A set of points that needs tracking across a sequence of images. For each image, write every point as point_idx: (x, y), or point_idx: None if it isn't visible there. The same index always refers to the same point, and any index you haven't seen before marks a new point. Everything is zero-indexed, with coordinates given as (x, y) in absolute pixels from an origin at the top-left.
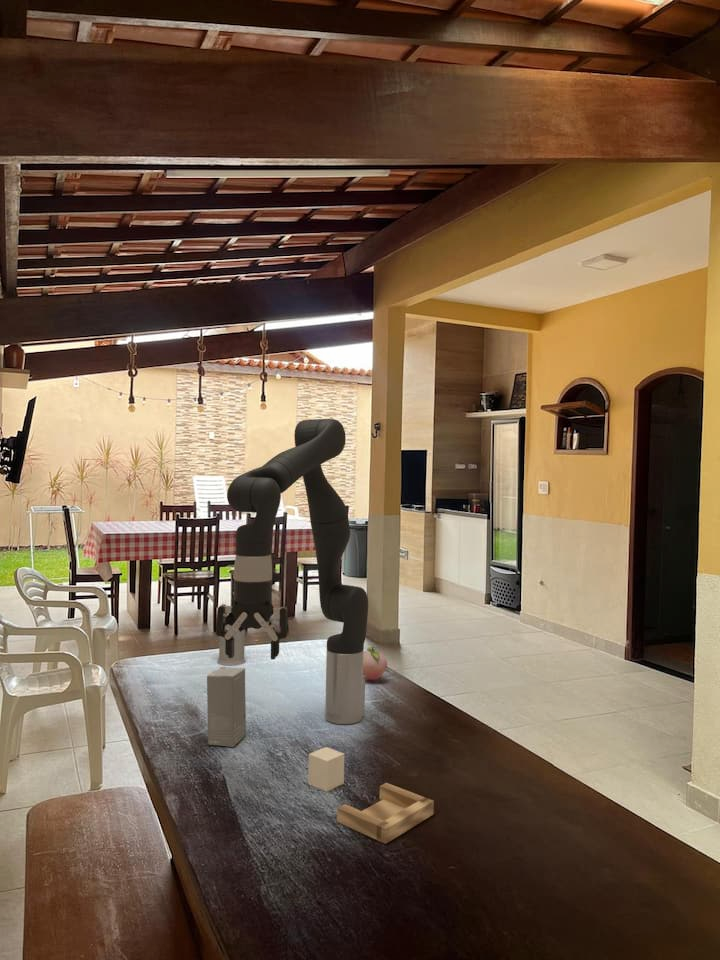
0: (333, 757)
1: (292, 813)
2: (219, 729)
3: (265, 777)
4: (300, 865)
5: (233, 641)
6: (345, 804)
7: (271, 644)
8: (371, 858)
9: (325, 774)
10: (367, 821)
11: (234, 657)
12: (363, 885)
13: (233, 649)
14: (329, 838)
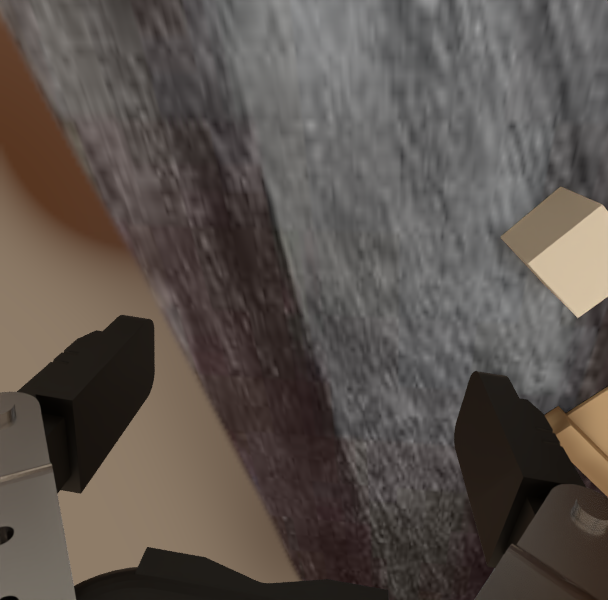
0: (605, 291)
1: (443, 380)
2: None
3: (381, 192)
4: (443, 535)
5: (91, 414)
6: (572, 426)
7: (486, 541)
8: None
9: (557, 297)
10: (601, 490)
11: None
12: None
13: (128, 368)
14: None
